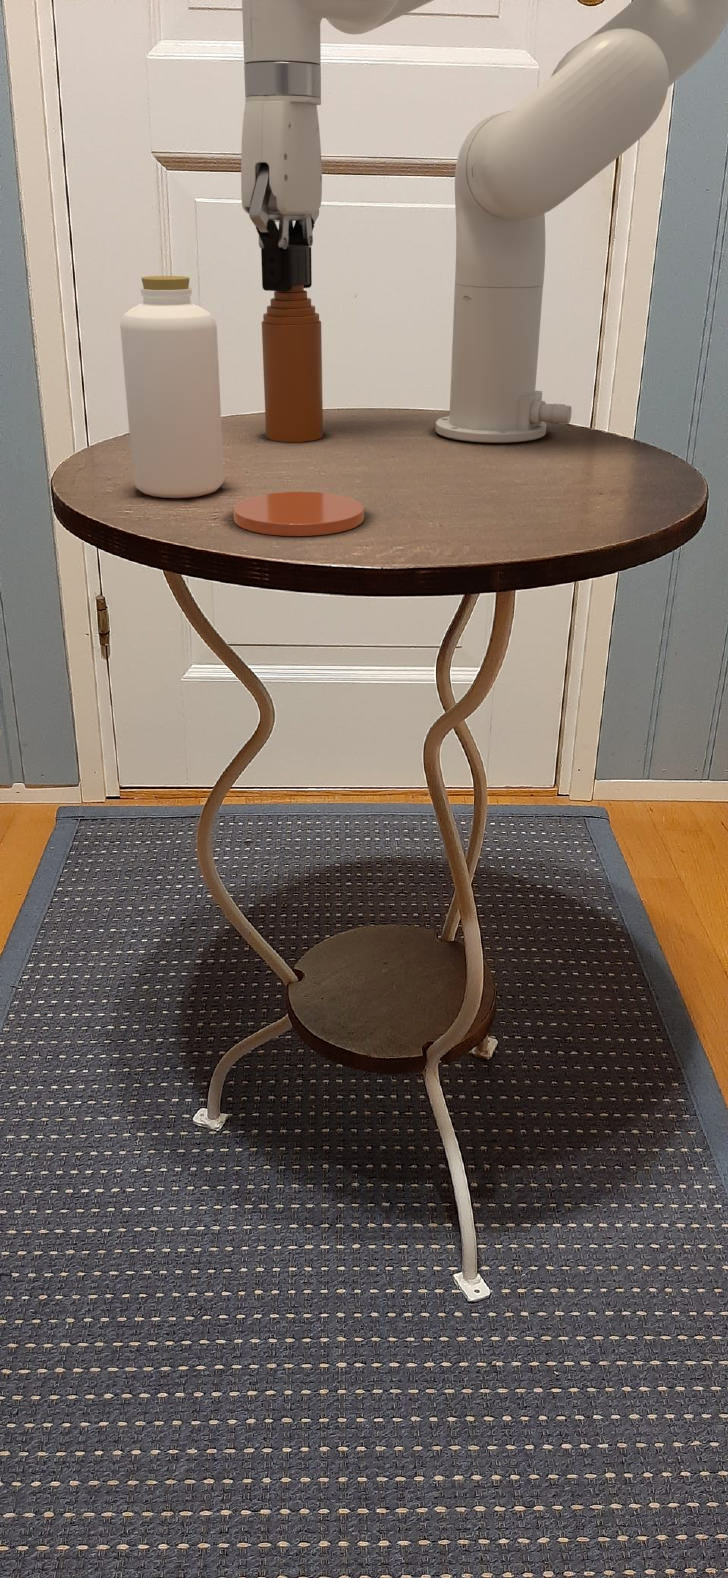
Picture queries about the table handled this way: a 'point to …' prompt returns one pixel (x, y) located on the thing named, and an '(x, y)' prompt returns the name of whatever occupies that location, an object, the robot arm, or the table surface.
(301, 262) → the cap
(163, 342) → the potion bottle
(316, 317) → the sauce bottle
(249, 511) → the orange round coaster
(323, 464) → the table surface
